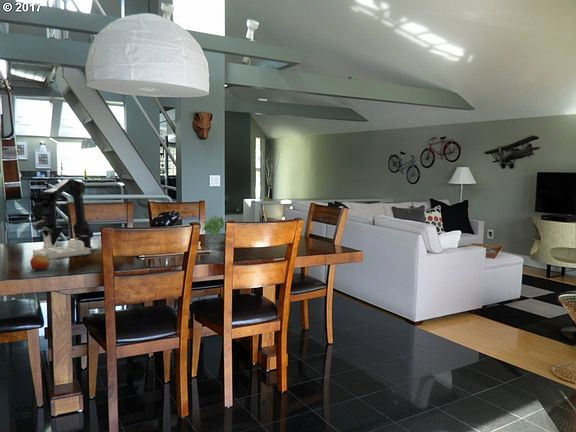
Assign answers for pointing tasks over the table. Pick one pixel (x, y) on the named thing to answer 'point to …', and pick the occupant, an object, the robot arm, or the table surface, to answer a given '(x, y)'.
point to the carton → (64, 250)
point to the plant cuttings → (214, 226)
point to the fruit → (39, 263)
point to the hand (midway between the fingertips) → (50, 244)
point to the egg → (49, 242)
